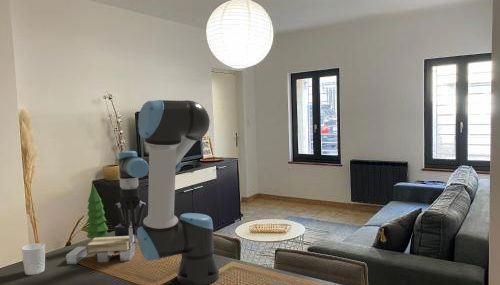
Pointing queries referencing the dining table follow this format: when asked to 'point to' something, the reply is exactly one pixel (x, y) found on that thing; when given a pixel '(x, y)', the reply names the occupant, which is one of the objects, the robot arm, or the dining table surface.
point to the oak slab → (109, 244)
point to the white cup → (34, 258)
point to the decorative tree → (96, 216)
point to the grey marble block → (76, 255)
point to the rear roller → (127, 253)
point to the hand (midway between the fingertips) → (131, 242)
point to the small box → (122, 231)
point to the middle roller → (104, 256)
